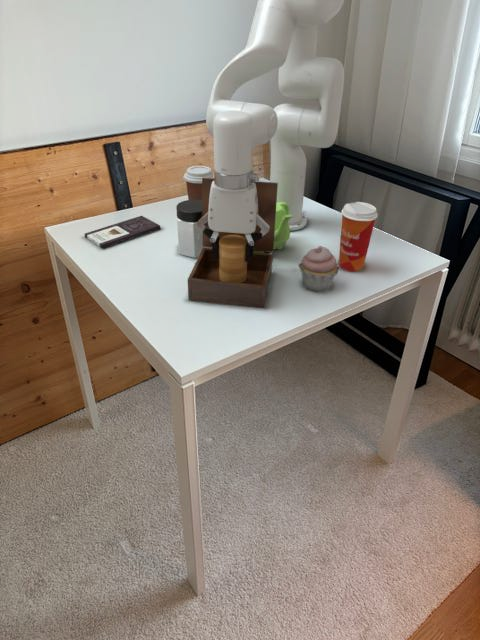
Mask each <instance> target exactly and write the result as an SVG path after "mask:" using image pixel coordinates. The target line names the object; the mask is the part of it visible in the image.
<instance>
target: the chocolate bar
mask: <svg viewBox="0 0 480 640" xmlns="http://www.w3.org/2000/svg"><path fill="white" fill-rule="evenodd" d="M158 230H161V225H160V224H158V223H156V222H155V221H153V220H151V219H149V218H147V217H145V216H144V215H139V216H136V217H133V218H130V219H126V220H123V221H120V222H117V223H114V224H111V225H108V226H104V227H101V228H97V229H95V230H91V231H88V232H86V233H84V238H86V239H87V240H89V241H90V242H92V243H93V244H95V245H97V246H98V247H99V248H101V249H106V248H109V247H112V246H115V245H117V244H120V243H124V242H127V241H129V240H131V239H135V238H137V237H140V236H143V235H146V234H150V233H152V232H156V231H158Z"/></svg>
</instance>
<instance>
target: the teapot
mask: <svg viewBox="0 0 480 640" xmlns="http://www.w3.org/2000/svg"><path fill="white" fill-rule="evenodd" d="M281 206H284V210H283V208H282V207H281ZM288 213H289V206H288V205H287V204H286V203H285V202H278V203H277V204H276V219H275V234H274V249H273V250H281V249H283V246H284V245H285V244H286V243H287V242H288V240H289V239H290V237H291V231H290V228H289V222H288V221H289V219H290V218H291V217H293V216H292V215H288ZM254 252H258V253H265V252H261V251H254Z"/></svg>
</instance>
